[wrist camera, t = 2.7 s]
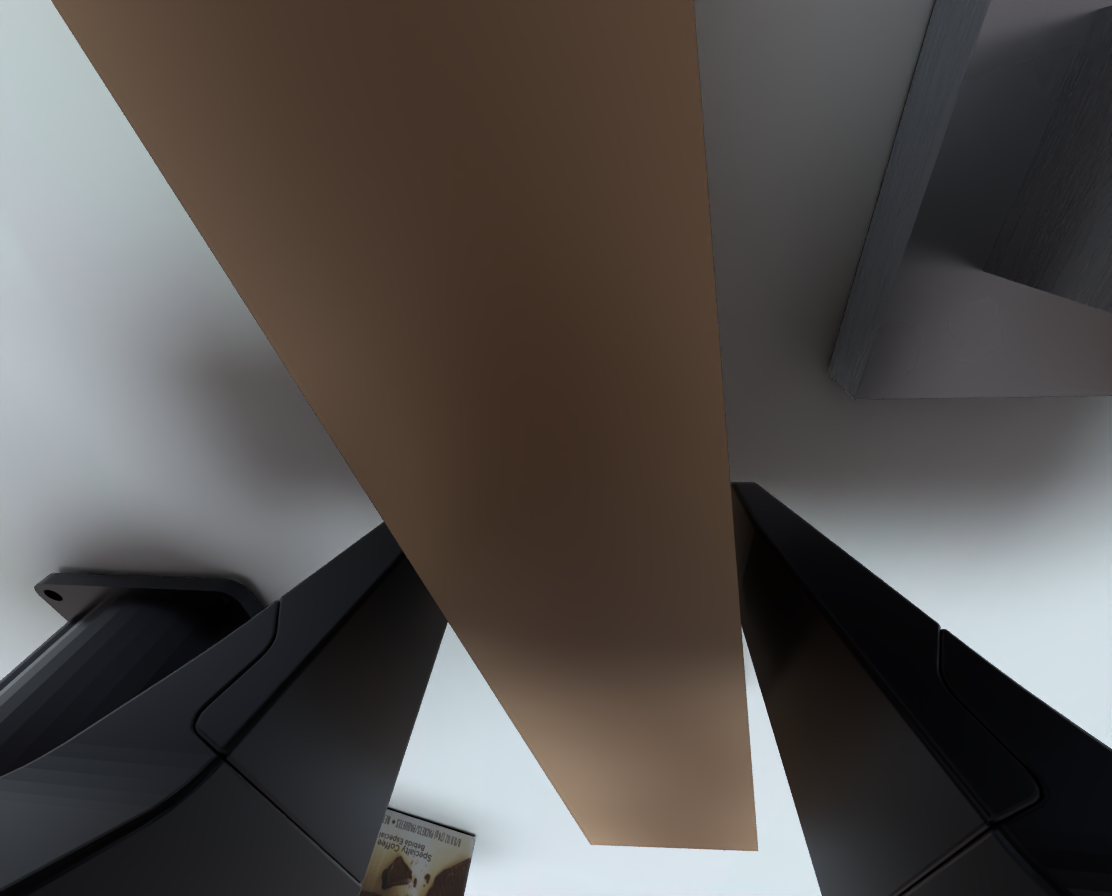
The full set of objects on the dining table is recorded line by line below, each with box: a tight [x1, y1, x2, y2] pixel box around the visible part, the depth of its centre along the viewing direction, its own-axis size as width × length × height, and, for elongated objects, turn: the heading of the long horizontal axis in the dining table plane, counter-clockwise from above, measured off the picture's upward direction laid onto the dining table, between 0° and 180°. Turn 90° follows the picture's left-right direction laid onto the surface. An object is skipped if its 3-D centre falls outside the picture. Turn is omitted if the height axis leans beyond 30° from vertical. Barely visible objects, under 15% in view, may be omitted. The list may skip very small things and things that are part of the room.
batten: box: [51, 0, 758, 851], centre depth 8 cm, size 4×18×4 cm, turn 15°
